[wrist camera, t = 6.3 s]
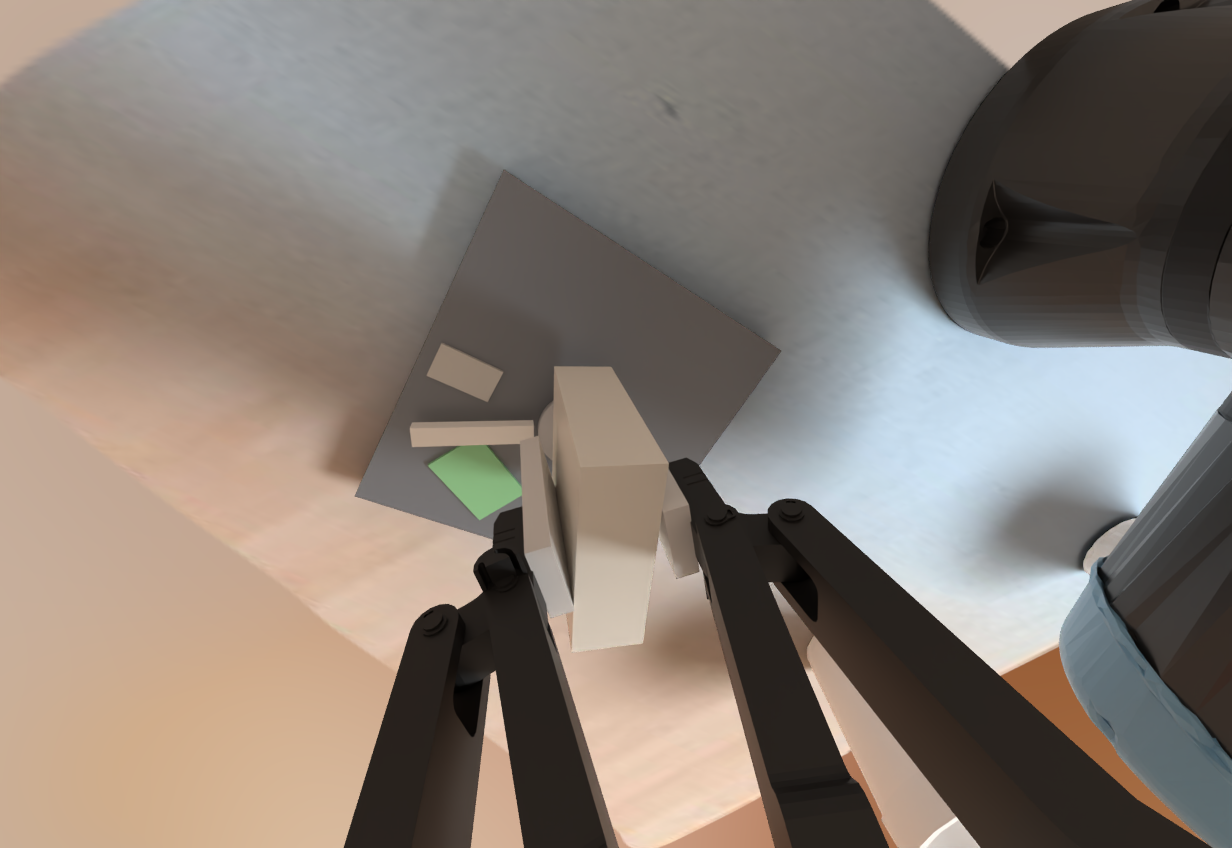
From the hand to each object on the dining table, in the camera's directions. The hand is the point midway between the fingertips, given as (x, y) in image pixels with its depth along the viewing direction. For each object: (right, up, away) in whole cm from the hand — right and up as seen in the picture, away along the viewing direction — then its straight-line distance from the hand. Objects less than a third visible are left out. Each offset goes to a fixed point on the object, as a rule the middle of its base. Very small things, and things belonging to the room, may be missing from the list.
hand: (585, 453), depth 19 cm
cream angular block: (-3, +1, +3) cm, 5 cm away
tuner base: (-1, +2, +5) cm, 5 cm away
